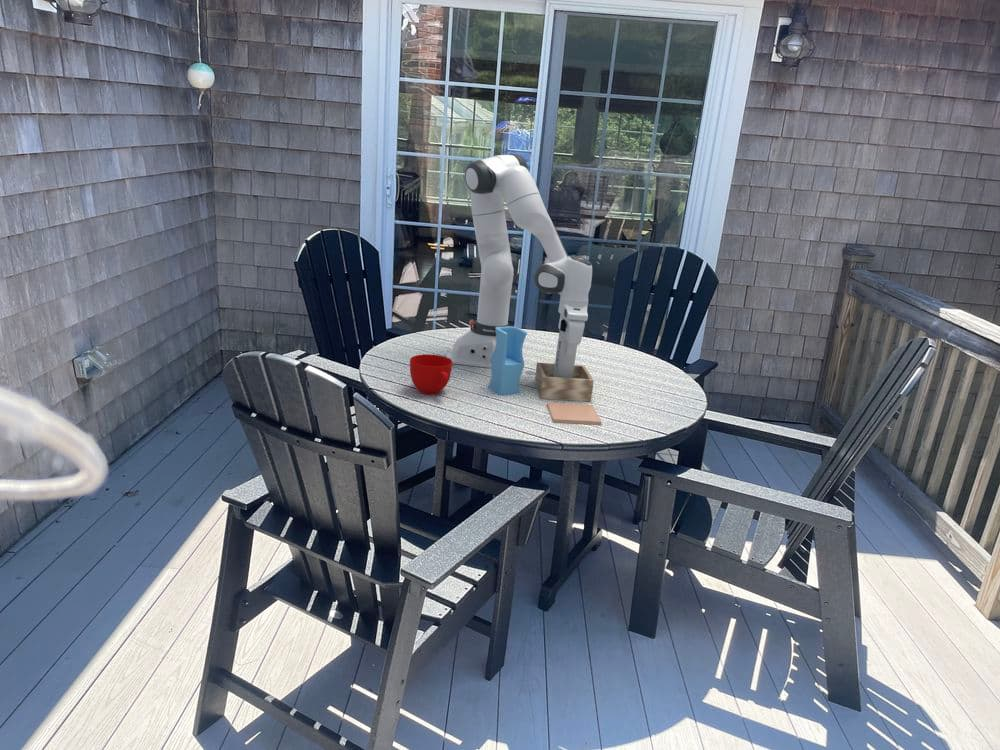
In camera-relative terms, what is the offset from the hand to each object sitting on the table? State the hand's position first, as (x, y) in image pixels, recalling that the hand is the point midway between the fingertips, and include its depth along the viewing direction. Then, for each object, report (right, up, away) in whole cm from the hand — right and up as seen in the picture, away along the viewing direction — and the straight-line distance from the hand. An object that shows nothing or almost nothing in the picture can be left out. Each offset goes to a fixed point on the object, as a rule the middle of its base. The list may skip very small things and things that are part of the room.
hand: (566, 350), depth 232 cm
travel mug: (-1, -10, +3) cm, 10 cm away
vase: (-20, -13, 0) cm, 24 cm away
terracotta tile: (+1, -20, -16) cm, 26 cm away
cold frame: (-1, -13, +4) cm, 14 cm away
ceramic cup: (-42, -14, -9) cm, 45 cm away
